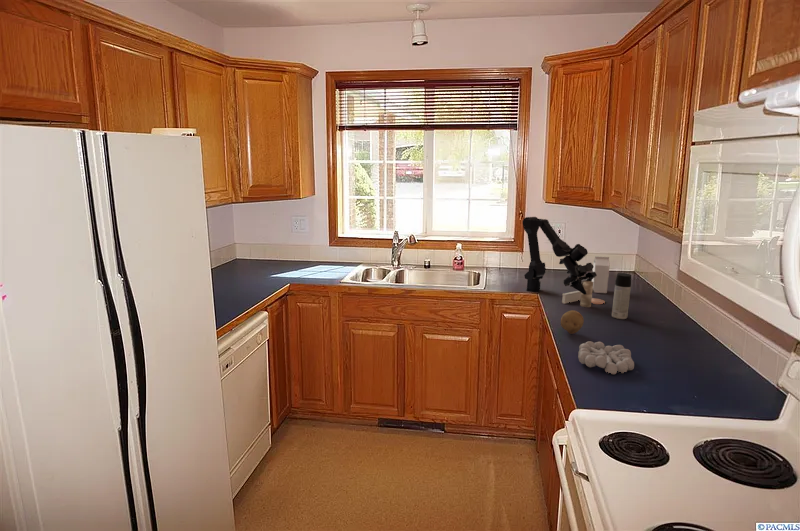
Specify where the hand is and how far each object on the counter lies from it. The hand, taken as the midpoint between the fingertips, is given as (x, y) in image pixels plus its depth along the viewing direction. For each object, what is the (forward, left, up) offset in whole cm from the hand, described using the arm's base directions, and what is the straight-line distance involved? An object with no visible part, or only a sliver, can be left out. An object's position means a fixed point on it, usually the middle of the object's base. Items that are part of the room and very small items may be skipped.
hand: (589, 293), depth 257 cm
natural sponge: (-9, -44, -7) cm, 46 cm away
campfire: (+2, -72, -7) cm, 73 cm away
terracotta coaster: (+4, +10, -7) cm, 13 cm away
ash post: (-1, +1, -7) cm, 7 cm away
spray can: (+13, -13, -7) cm, 20 cm away
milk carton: (+7, +32, -7) cm, 33 cm away
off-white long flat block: (-8, +6, -7) cm, 12 cm away
